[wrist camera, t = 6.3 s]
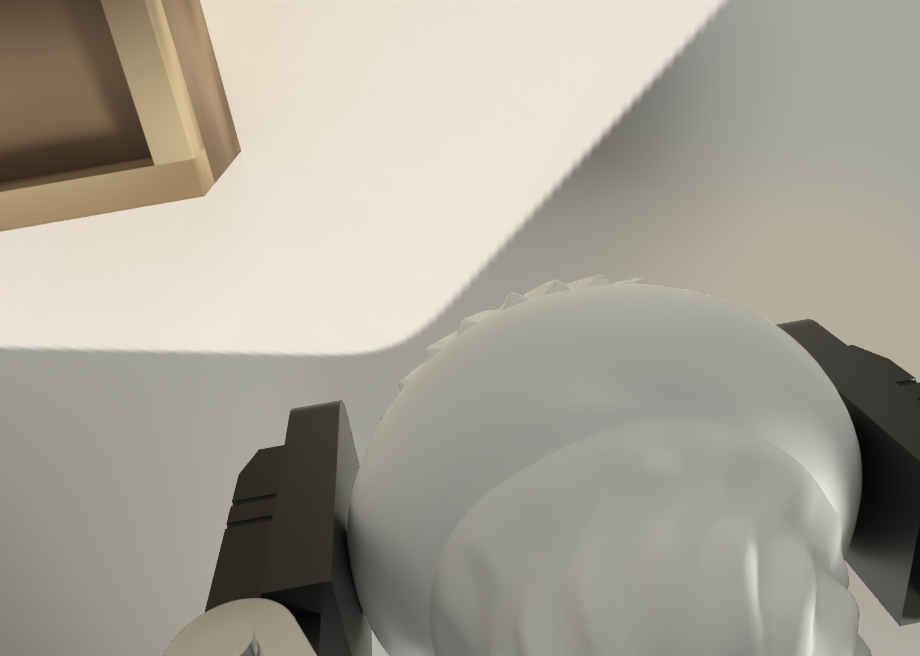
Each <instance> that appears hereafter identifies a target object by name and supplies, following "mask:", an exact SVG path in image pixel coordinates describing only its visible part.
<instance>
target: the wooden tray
mask: <svg viewBox="0 0 920 656" xmlns="http://www.w3.org/2000/svg"><path fill="white" fill-rule="evenodd" d="M240 152H241V149H240V145H239V142H238V138H237V134H236V131H235V127H234V124H233V120H232V116H231V113H230V109H229V105H228V102H227V98H226V94H225V91H224V87H223V84H222V80H221V76H220V73H219V69H218V65H217V62H216V58H215V55H214V51H213V47H212V44H211V40H210V36H209V33H208V29H207V26H206V22H205V18H204V15H203V11H202V7H201V4H200V0H0V231H6V230H12V229H18V228H23V227H29V226H35V225H41V224H46V223H52V222H58V221H64V220H69V219H75V218H81V217H87V216H92V215H98V214H104V213H110V212H115V211H121V210H127V209H133V208H139V207H144V206H150V205H156V204H162V203H167V202H173V201H179V200H185V199H190V198H196V197H202V196H205V195H206V193H207V192H208V191H209V190H210V188H211V187H212V186H213V185H214V184H215V182H216V181H217V180H218V179H219V177H220V176H221V175H222V174H223V173H224V171H225V170H226V169H227V168H228V166H229V165H230V164H231V163H232V161H233V160H234V159H235V158H236V157H237V155H238V154H239V153H240Z"/></svg>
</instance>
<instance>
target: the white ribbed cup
mask: <svg viewBox="0 0 920 656" xmlns="http://www.w3.org/2000/svg"><path fill="white" fill-rule="evenodd" d="M425 359H426V362H425V363H423V364H422V365H420V366H419V367H417V368H416V369H415V370H414V371H412V372H411V373H410V374H408V375H407V376H406V377H405V378H403V379H402V380H401V381H400V384H399V388H400V394H399V395H398V396H397V397H396V399H395V400H394V402H393V403H392V404H391V406H390V407H389V409H388V410H387V411H386V412H385V413H384V414H383V416H382V417H381V422H380V423H379V425H378V427H377V429H376V430H375V432H374V434H373V437H372V438H371V441H370V443H369V445H368V447H367V449H366V452H365V454H364V456H363V459H362V462H361V465H360V467H359V470H358V473H357V477H356V480H355V484H354V487H353V491H352V495H351V500H350V506H349V512H348V524H347V547H348V554H349V561H350V567H351V572H352V577H353V581H354V585H355V589H356V593H357V597H358V600H359V603H360V605H361V608H362V610H363V612H364V615H365V617H366V619H367V621H368V623H369V625H370V627H371V629H372V630H373V632H374V634H375V635H376V637H377V639H378V640H379V642H380V644H381V645H382V647H383V648H384V649H385V651H386V652H387V654H388V655H389V656H872V655H871V651H870V649H869V648H868V646H867V645H866V644H865V642H864V641H863V639H862V638H861V637H860V636H859V635H858V625H859V615H860V613H859V607H858V604H857V602H856V600H855V598H854V596H853V595H852V594H851V593H850V591H849V590H848V585H849V576H848V570H847V567H846V563H845V557H846V554H847V551H848V549H849V546H850V543H851V540H852V536H853V533H854V529H855V526H856V521H857V517H858V512H859V506H860V501H861V492H862V460H861V452H860V447H859V442H858V439H857V435H856V432H855V429H854V425H853V423H852V420H851V418H850V415H849V413H848V410H847V408H846V406H845V404H844V403H843V401H842V399H841V397H840V395H839V393H838V391H837V390H836V388H835V386H834V385H833V383H832V382H831V380H830V379H829V378H828V376H827V375H826V374H825V372H824V371H823V369H822V368H821V367H820V365H819V364H818V363H817V362H816V360H815V359H814V358H813V357H812V356H811V355H810V354H809V353H808V352H807V351H806V350H805V349H804V348H803V347H802V346H801V345H800V344H799V343H798V342H797V341H796V340H795V339H794V338H792V337H791V336H790V335H789V334H787V333H786V332H785V331H784V330H782V329H781V328H779V327H778V326H776V325H775V324H773V323H772V322H770V321H768V320H767V319H765V318H763V317H762V316H760V315H758V314H756V313H754V312H752V311H750V310H748V309H745V308H743V307H741V306H739V305H737V304H734V303H732V302H729V301H726V300H723V299H720V298H717V297H714V296H710V295H707V294H704V293H700V292H695V291H691V290H685V289H679V288H674V287H667V286H659V285H650V283H649V281H648V280H647V279H643V278H635V279H631V280H626V281H620V282H615V283H610V282H609V281H608V280H607V278H606V277H604V276H602V275H595V276H592V277H588V278H585V279H581V280H578V281H575V282H572V283H569V284H566V285H565V284H564V283H562V282H560V281H558V280H552V281H550V282H548V283H546V284H543V285H541V286H539V287H537V288H535V289H533V290H531V291H529V292H527V293H526V294H525V295H524V296H522V295H519V294H516V293H509V295H508V296H507V298H506V300H505V302H504V304H503V306H502V307H501V308H499V309H497V310H494V311H491V310H486V311H482V312H480V313H478V314H474V315H471V316H468V317H466V318H463V319H461V320H460V321H459V323H458V329H457V331H456V332H453V333H452V334H450V335H448V336H447V337H445V338H443V339H442V340H440V341H438V342H436V343H434V344H432V345H430V346H429V347H428V348H427V349H426V352H425Z"/></svg>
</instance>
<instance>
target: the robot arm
mask: <svg viewBox="0 0 920 656" xmlns="http://www.w3.org/2000/svg"><path fill="white" fill-rule="evenodd" d="M776 326H778V327H779V328H781V329H782V330H784V331H785V332H786V333H787V334H789V335H790V336H791V337H792V338H794V339H795V340H796V341H797V342H798V343H799V344H800V345H801V346H802V347H803V348H804V349H805V350H806V351H807V352H808V353H809V354H810V355H811V356H812V357H813V358H814V359H815V360H816V362H817V363H818V364H819V365H820V367H821V368H822V369H823V371H824V372H825V374H826V375H827V376H828V378H829V379H830V380H831V382H832V383H833V385H834V386H835V388H836V390H837V391H838V393H839V395H840V397H841V399H842V401H843V403H844V404H845V406H846V408H847V410H848V413H849V415H850V418H851V420H852V423H853V425H854V429H855V432H856V435H857V439H858V442H859V447H860V452H861V460H862V492H861V501H860V506H859V512H858V517H857V521H856V526H855V529H854V533H853V536H852V540H851V543H850V546H849V549H848V551H847V554H846V557H845V560H846V562H847V563H848V564H849V565H850V566H851V568H852V569H853V570H854V571H855V572H856V574H857V575H858V576H859V577H860V579H861V580H862V581H863V582H864V583H865V585H866V586H867V587H868V588H869V589H870V591H871V592H872V593H873V594H874V595H875V597H876V598H877V599H878V600H879V602H880V603H881V604H882V605H883V606H884V608H885V609H886V610H887V611H888V612H889V614H890V615H891V616H892V617H893V618H894V620H895V621H896V622H897V623H898V625H899V626H903V625H908V624H913V623H918V622H920V383H917V382H916V379H915V378H914V377H913V376H912V375H910V374H909V373H907V372H906V371H905V370H903V369H902V368H901V367H899V366H898V365H896V364H895V363H894V362H892V361H891V360H890V359H887V358H885V357H882V356H880V355H877V354H875V353H872V352H869V351H867V350H864V349H862V348H859V347H856V346H854V345H849V346H847V345H846V344H844V343H843V342H842V341H840V340H839V339H838V338H837V337H835V336H834V335H833V334H831V333H830V332H829V331H827V330H826V329H825V328H823V327H822V326H820V325H819V324H818V323H817V322H815V321H813V320H810V319H806V320H800V321H795V322H789V323H784V324H778V325H776ZM359 467H360V466H359V462H358V458H357V453H356V449H355V445H354V441H353V437H352V432H351V428H350V424H349V420H348V416H347V412H346V408H345V405H344V403H343V401H342V400H340V401H334V402H329V403H323V404H317V405H312V406H306V407H300V408H294V409H292V410H291V411H290V415H289V421H288V427H287V433H286V439H285V445H282V446H277V447H271V448H265V449H260V450H258V452H257V453H256V454H255V455H254V457H253V458H252V459H251V460H250V462H249V463H248V464H247V465H246V466H245V468H244V469H243V470H242V471H241V473H240V474H239V476H238V480H237V484H236V488H235V492H234V496H233V500H232V502H233V506H231V508H230V512H229V516H228V520H227V529H225V533H224V536H223V541H222V544H221V548H220V552H219V557H218V561H217V565H216V569H215V573H214V577H213V581H212V585H211V589H210V593H209V597H208V601H207V605H206V609H205V613H204V614H202V615H200V616H198V617H197V618H196V619H194V620H193V621H192V622H190V623H189V624H188V625H187V626H186V627H185V628H184V629H183V630H181V631H180V632H179V634H177V636H176V637H175V638H174V639H173V640H172V642H171V643H170V644H169V646H168V647H167V649H166V650H165V652H164V654H163V656H372V638H371V627H370V625H369V623H368V621H367V619H366V617H365V615H364V612H363V610H362V608H361V605H360V603H359V600H358V597H357V593H356V589H355V585H354V581H353V577H352V572H351V567H350V561H349V554H348V547H347V524H348V512H349V506H350V500H351V495H352V491H353V487H354V484H355V480H356V477H357V473H358V470H359Z"/></svg>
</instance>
